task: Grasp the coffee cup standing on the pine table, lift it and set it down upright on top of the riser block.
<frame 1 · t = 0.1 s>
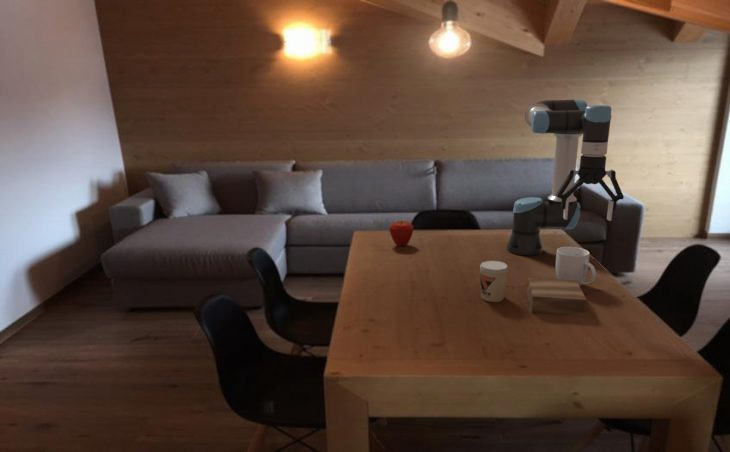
hand: (586, 219, 165), 28 cm above the table, fingers open, 13 cm apart
mug: (572, 286, 182), on the table
coffee cup: (492, 297, 174), on the table
apple: (401, 245, 232), on the table
riser: (554, 304, 167), on the table
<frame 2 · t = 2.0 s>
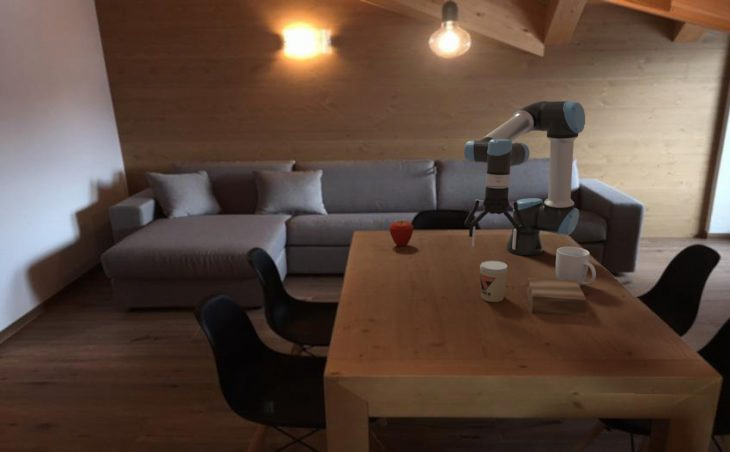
hand: (493, 247, 172), 18 cm above the table, fingers open, 13 cm apart
nothing on the table moved.
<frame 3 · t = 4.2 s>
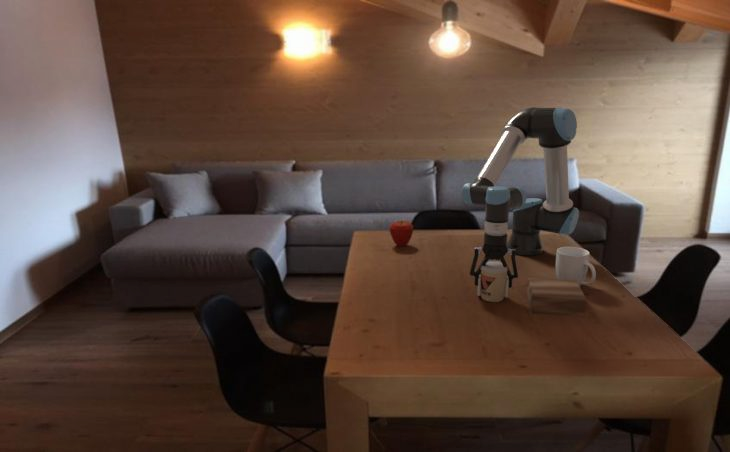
hand: (492, 294, 174), 1 cm above the table, fingers closed on coffee cup, 9 cm apart
coffee cup: (492, 297, 174), on the table, touching gripper
everything else where it was.
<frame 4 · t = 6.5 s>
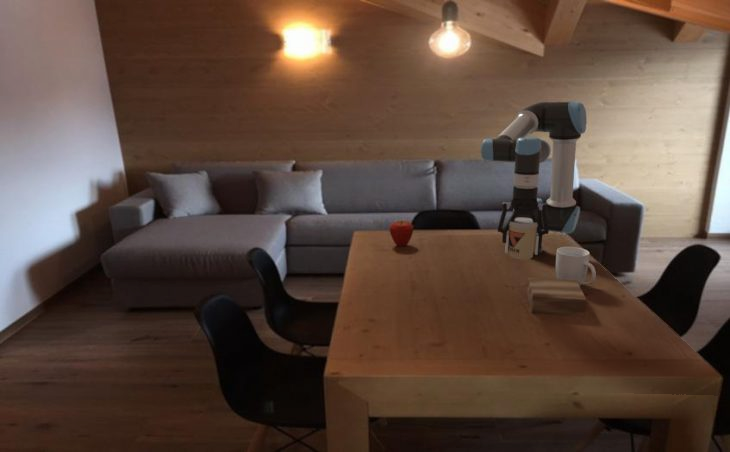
hand: (521, 252, 166), 17 cm above the table, fingers closed on coffee cup, 9 cm apart
coffee cup: (520, 255, 167), point 16 cm above the table, touching gripper
everything else where it was.
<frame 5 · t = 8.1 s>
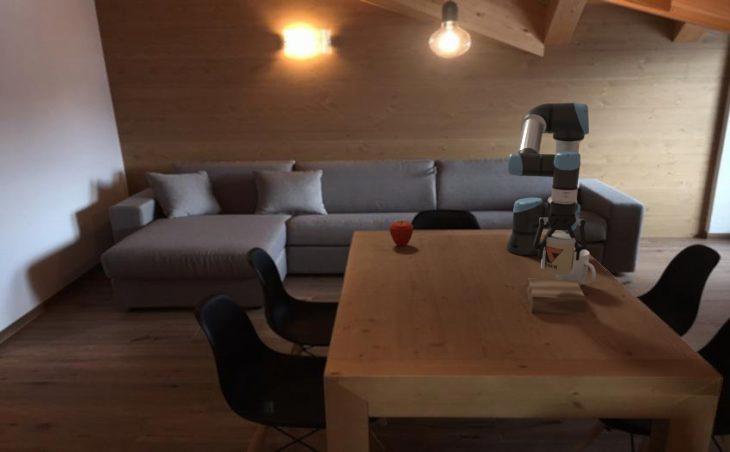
hand: (557, 268, 164), 13 cm above the table, fingers closed on coffee cup, 9 cm apart
coffee cup: (557, 271, 164), point 12 cm above the table, touching gripper
everything else where it was.
when the fingers open (8 cm above the table, at t = 9.3 s): coffee cup drops 1 cm, resting on riser.
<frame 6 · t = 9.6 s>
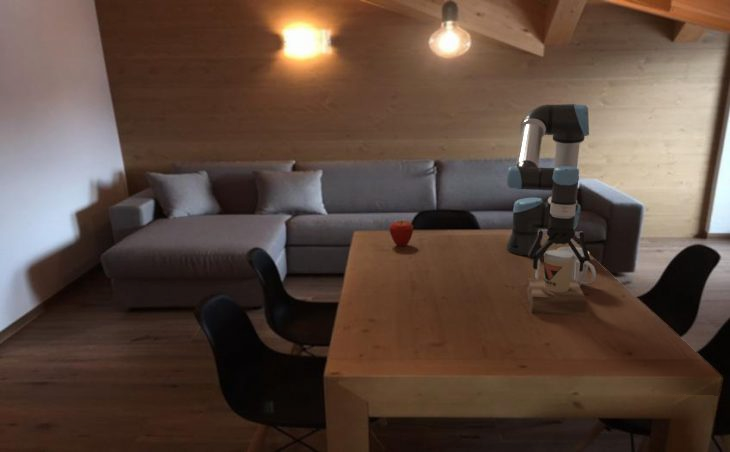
hand: (556, 279, 165), 9 cm above the table, fingers open, 11 cm apart
coffee cup: (556, 288, 166), point 6 cm above the table, touching riser
everything else where it was.
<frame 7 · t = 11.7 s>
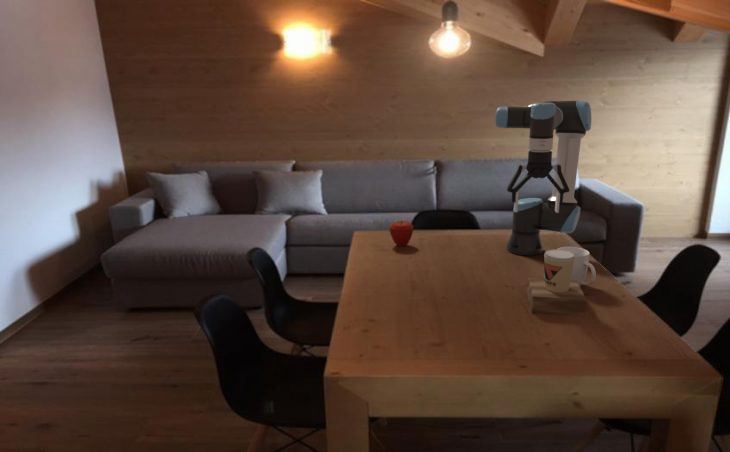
hand: (536, 211, 173), 29 cm above the table, fingers open, 13 cm apart
nothing on the table moved.
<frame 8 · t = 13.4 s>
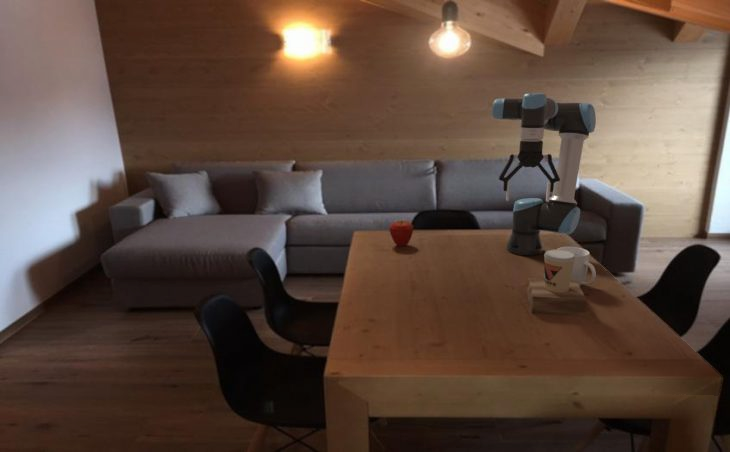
hand: (527, 200, 176), 32 cm above the table, fingers open, 13 cm apart
nothing on the table moved.
at the end: coffee cup inside the target area on the riser (0.4 cm from its centre), point 5.8 cm above the riser's base; coffee cup tilted 0°; coffee cup touching riser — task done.
